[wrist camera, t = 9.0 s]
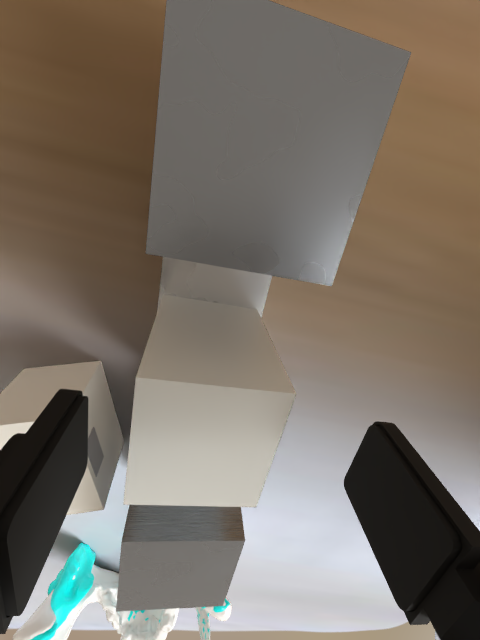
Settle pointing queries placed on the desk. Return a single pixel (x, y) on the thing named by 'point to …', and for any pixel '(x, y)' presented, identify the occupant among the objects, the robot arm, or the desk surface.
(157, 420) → the block
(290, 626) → the desk surface
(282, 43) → the rail
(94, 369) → the block
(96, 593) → the jawbone
